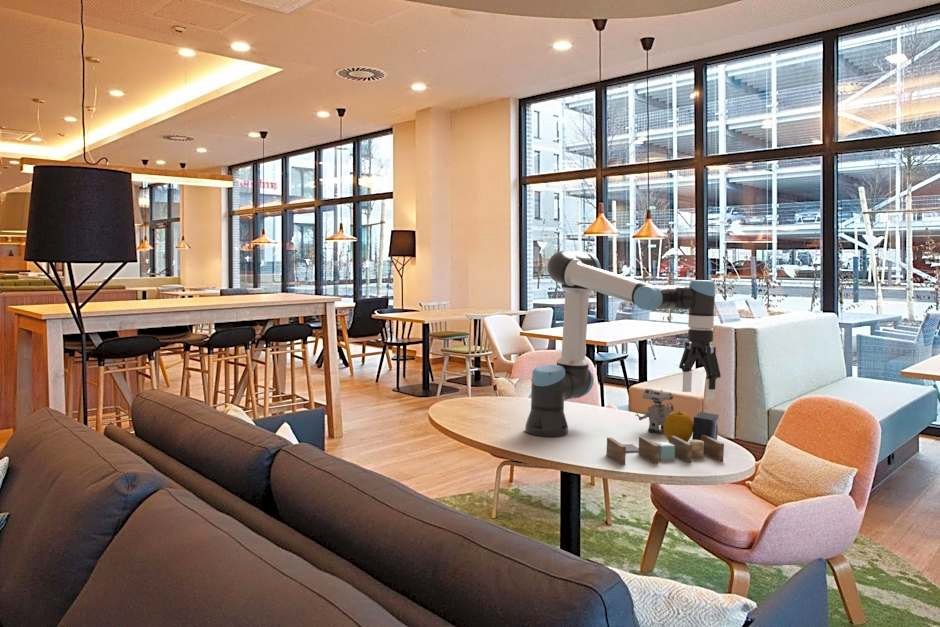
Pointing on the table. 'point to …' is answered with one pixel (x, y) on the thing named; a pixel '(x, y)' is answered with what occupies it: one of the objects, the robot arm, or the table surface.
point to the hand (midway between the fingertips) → (697, 395)
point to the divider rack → (652, 449)
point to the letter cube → (666, 450)
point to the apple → (678, 426)
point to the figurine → (657, 409)
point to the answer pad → (631, 448)
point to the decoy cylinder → (697, 448)
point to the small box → (705, 425)
